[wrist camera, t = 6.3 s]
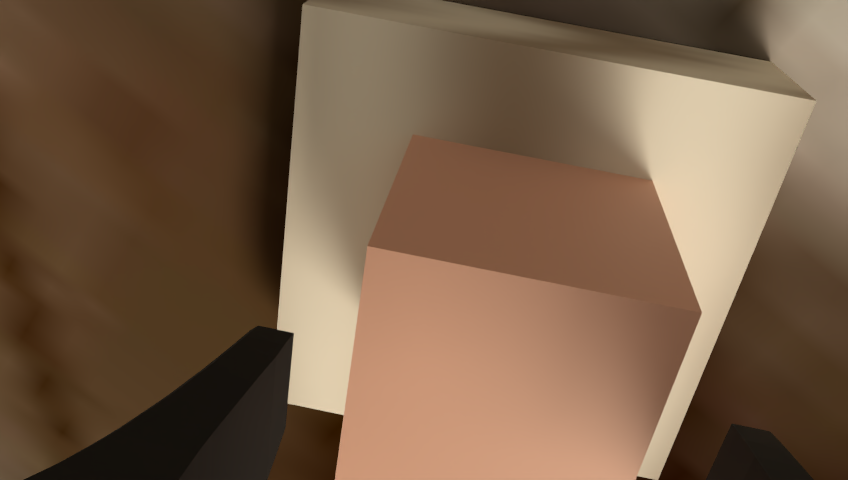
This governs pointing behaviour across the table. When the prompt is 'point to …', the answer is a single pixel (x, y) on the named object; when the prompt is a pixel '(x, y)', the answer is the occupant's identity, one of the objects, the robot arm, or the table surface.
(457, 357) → the cube
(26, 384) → the table surface
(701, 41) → the table surface
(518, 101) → the base
